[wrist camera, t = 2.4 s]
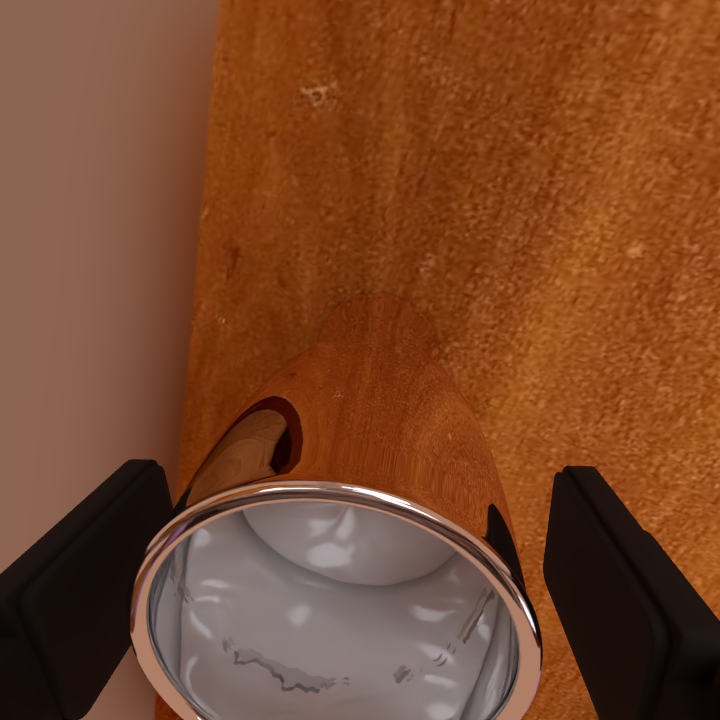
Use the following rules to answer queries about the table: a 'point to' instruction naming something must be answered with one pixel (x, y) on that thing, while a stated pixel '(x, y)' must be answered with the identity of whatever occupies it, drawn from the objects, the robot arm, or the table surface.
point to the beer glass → (343, 547)
